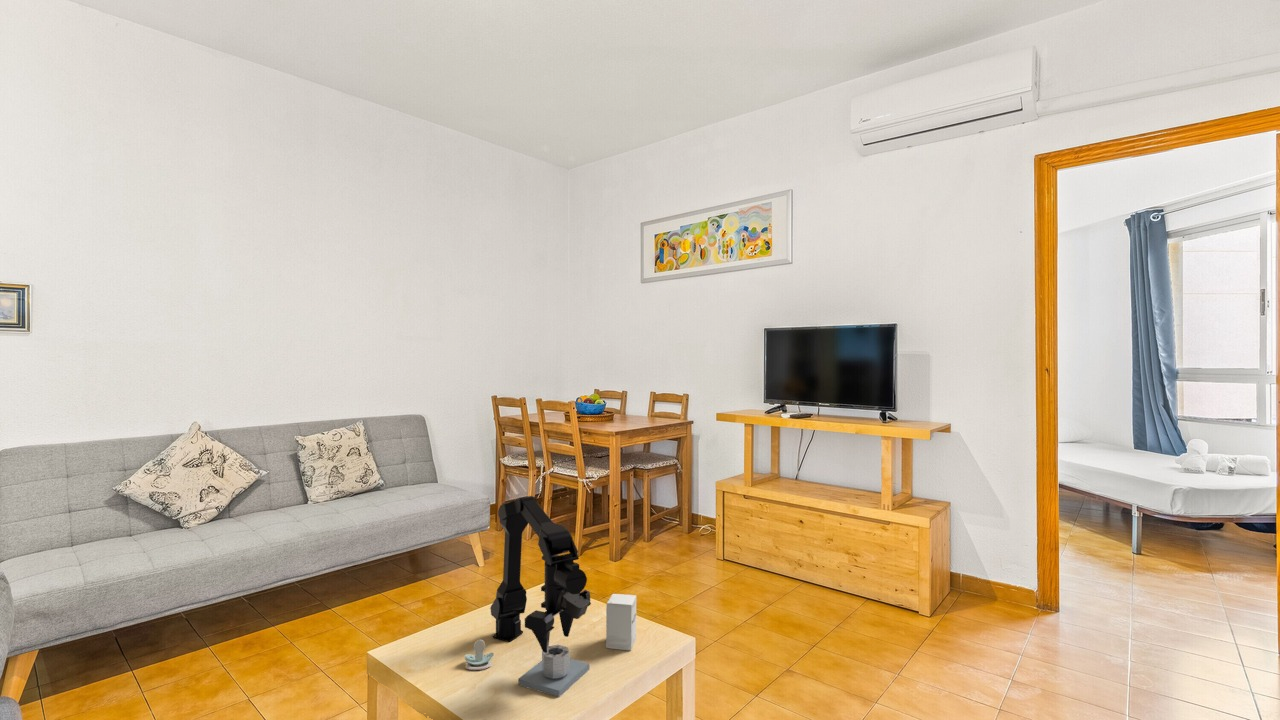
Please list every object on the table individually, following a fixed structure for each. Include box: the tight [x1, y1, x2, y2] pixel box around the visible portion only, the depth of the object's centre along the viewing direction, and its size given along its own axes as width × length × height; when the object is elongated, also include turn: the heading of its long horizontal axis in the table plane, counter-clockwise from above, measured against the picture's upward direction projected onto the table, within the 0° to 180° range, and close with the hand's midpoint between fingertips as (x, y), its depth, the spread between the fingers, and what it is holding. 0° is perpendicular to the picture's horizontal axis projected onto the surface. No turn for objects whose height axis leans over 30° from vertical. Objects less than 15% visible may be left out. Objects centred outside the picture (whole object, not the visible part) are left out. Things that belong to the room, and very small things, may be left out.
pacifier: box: [464, 639, 494, 671], centre depth 155 cm, size 7×6×6 cm
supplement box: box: [605, 593, 637, 651], centre depth 167 cm, size 7×7×13 cm
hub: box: [541, 644, 570, 679], centre depth 148 cm, size 6×6×5 cm
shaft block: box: [517, 657, 590, 698], centre depth 149 cm, size 12×14×4 cm
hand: (556, 644), depth 148 cm, fingers open, 9 cm apart
